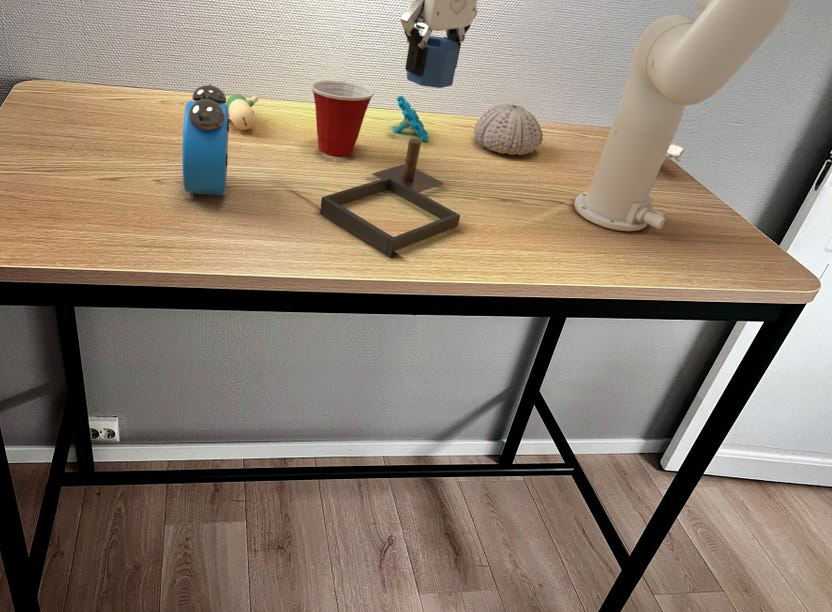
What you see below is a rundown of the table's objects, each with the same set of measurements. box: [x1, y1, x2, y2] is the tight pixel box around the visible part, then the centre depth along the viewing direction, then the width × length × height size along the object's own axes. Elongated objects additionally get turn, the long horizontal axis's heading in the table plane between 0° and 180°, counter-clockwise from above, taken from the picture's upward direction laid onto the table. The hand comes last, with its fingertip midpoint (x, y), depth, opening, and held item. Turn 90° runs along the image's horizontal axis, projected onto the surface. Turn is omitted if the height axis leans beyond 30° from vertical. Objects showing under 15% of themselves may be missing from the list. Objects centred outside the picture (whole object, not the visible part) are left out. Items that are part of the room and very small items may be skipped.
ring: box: [405, 35, 460, 89], centre depth 111 cm, size 7×7×6 cm
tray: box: [319, 177, 461, 258], centre depth 111 cm, size 15×15×3 cm
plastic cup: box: [310, 79, 375, 158], centre depth 125 cm, size 11×11×12 cm
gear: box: [391, 95, 429, 143], centre depth 138 cm, size 11×6×10 cm
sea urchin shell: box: [473, 103, 544, 156], centre depth 141 cm, size 13×14×8 cm
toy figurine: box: [225, 93, 259, 131], centre depth 133 cm, size 8×4×12 cm
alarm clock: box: [181, 83, 230, 200], centre depth 107 cm, size 13×6×15 cm, turn 6°
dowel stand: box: [371, 138, 445, 193], centre depth 121 cm, size 9×9×8 cm
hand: (431, 69), depth 111 cm, fingers closed on ring, 7 cm apart
